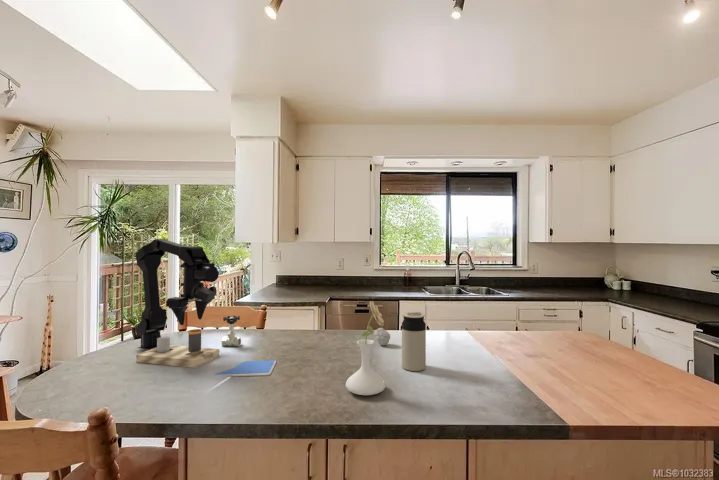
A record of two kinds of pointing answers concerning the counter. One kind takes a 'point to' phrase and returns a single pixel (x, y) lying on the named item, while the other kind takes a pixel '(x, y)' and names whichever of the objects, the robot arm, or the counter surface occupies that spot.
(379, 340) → the crumpled paper ball
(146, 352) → the wooden socket board
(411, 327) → the travel mug
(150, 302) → the robot arm
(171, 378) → the counter surface
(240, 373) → the tablet computer
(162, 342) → the grey plug
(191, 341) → the capped plug
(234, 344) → the valve
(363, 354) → the flower in vase
